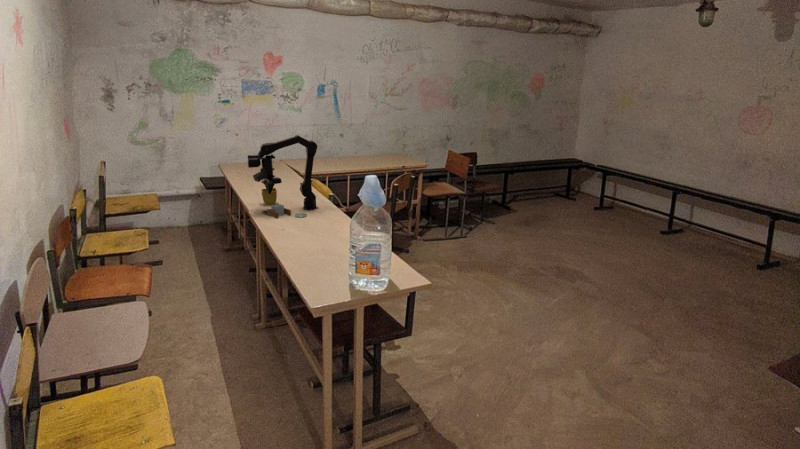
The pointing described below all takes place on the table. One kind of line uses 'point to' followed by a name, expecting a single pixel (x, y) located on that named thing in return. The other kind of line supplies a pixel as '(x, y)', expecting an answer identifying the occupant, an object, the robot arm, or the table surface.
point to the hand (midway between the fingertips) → (269, 193)
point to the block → (278, 209)
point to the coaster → (300, 215)
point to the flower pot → (269, 196)
